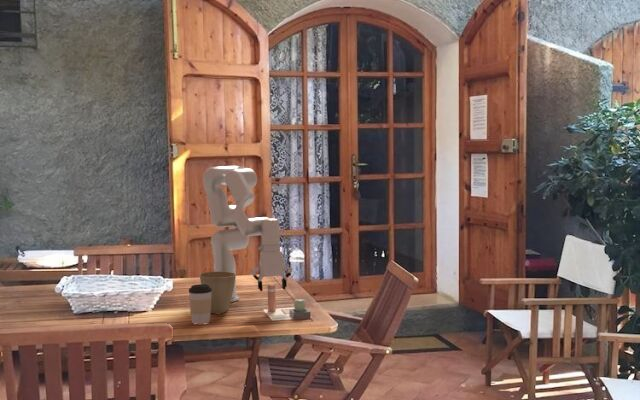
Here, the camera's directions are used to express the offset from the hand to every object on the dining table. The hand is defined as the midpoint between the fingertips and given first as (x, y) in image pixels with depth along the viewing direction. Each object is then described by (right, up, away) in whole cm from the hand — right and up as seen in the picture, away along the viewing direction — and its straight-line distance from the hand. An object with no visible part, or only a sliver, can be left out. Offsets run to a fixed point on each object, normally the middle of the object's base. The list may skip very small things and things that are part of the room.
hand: (272, 289), depth 307 cm
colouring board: (+6, -10, -3) cm, 12 cm away
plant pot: (-23, -10, +4) cm, 25 cm away
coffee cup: (-27, -11, -14) cm, 33 cm away
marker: (0, -9, +1) cm, 9 cm away
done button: (+12, -8, -9) cm, 17 cm away
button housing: (+12, -10, -8) cm, 17 cm away
